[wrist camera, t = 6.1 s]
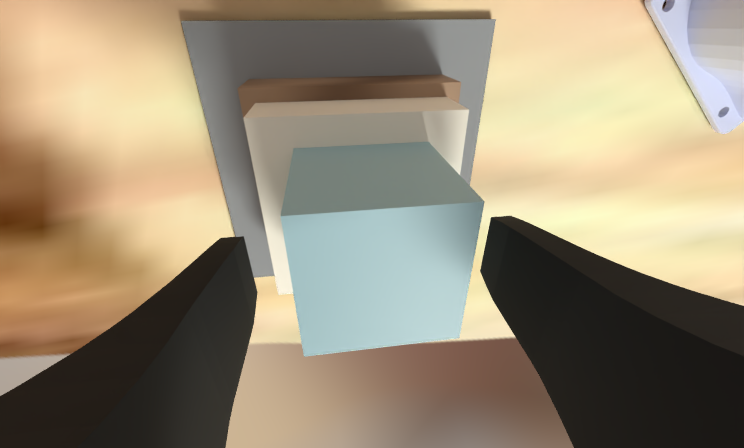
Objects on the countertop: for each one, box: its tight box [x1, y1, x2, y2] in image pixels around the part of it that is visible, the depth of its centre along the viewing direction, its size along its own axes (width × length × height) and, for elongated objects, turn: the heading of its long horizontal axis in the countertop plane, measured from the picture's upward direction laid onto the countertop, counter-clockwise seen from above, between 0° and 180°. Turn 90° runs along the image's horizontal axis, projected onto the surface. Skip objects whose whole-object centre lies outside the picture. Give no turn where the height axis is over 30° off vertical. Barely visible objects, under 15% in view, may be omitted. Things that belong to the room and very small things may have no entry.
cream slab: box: [244, 97, 469, 295], centre depth 13 cm, size 7×7×2 cm
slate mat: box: [181, 19, 496, 277], centre depth 16 cm, size 12×12×1 cm
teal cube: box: [280, 142, 484, 356], centre depth 10 cm, size 4×4×4 cm
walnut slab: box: [238, 74, 461, 220], centre depth 15 cm, size 8×8×2 cm
